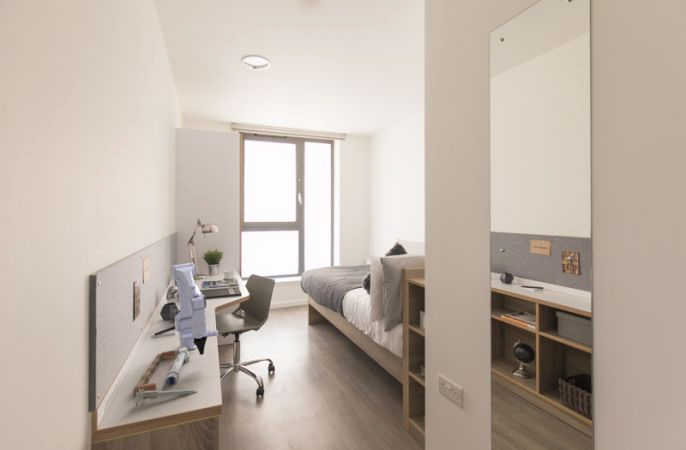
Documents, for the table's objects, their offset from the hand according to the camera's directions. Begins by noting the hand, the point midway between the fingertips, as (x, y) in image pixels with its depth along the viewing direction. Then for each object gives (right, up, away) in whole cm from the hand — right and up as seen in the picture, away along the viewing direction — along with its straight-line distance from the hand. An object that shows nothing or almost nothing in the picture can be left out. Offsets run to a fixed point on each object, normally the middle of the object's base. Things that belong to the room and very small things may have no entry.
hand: (202, 353), depth 149 cm
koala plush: (-35, -3, +66) cm, 75 cm away
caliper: (-3, -8, -24) cm, 25 cm away
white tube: (-9, -7, -2) cm, 12 cm away
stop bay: (-17, -7, -4) cm, 19 cm away
